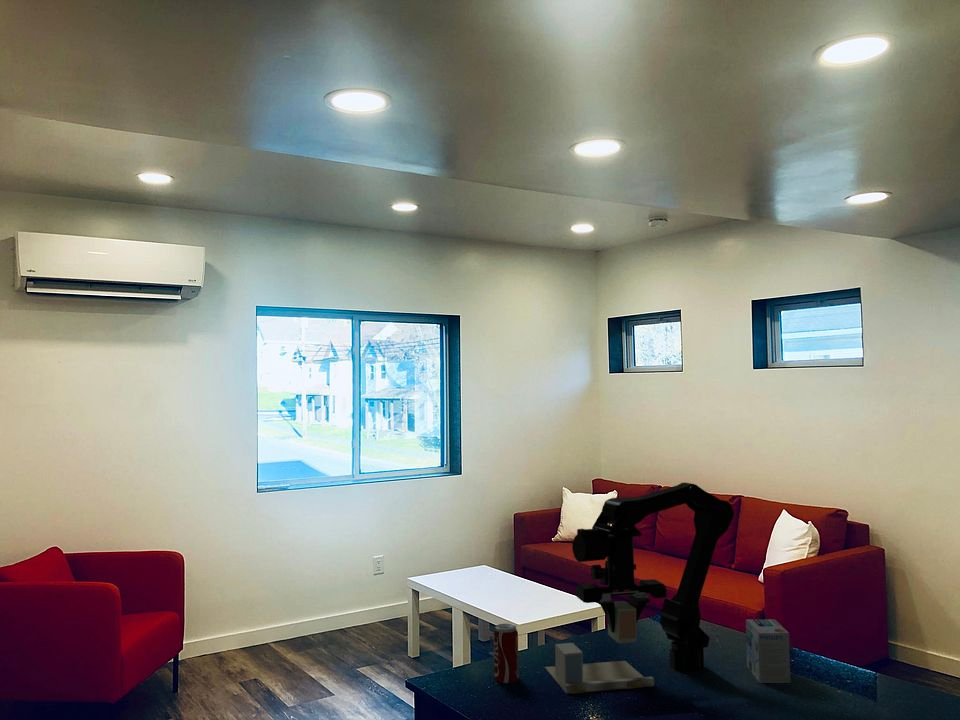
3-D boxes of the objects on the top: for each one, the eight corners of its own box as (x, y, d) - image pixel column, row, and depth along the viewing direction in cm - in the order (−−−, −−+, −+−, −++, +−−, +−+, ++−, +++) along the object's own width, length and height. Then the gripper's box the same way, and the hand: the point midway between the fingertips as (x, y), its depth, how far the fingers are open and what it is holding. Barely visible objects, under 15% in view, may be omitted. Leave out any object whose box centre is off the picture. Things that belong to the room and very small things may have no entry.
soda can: (516, 688, 161) (515, 630, 161) (492, 686, 162) (491, 629, 162) (520, 679, 166) (519, 623, 166) (496, 678, 167) (496, 622, 168)
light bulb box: (746, 666, 172) (744, 618, 173) (776, 667, 172) (775, 618, 172) (759, 684, 162) (757, 632, 162) (792, 684, 161) (790, 632, 162)
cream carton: (573, 675, 165) (572, 642, 165) (583, 687, 158) (582, 652, 159) (555, 677, 164) (555, 644, 165) (565, 688, 158) (564, 654, 158)
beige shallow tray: (625, 665, 174) (624, 653, 174) (654, 691, 158) (654, 678, 158) (544, 671, 171) (544, 660, 171) (566, 698, 155) (566, 686, 155)
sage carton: (625, 633, 168) (624, 600, 168) (637, 642, 161) (636, 608, 162) (608, 634, 167) (607, 602, 167) (619, 643, 160) (618, 610, 161)
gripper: (645, 548, 175) (647, 618, 174) (567, 553, 171) (569, 623, 170) (666, 558, 164) (668, 632, 163) (583, 563, 160) (585, 638, 159)
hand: (622, 631), depth 164 cm, fingers closed on sage carton, 4 cm apart
